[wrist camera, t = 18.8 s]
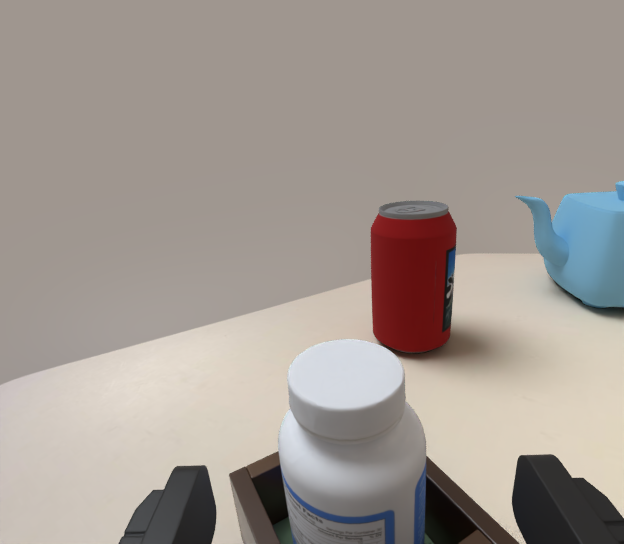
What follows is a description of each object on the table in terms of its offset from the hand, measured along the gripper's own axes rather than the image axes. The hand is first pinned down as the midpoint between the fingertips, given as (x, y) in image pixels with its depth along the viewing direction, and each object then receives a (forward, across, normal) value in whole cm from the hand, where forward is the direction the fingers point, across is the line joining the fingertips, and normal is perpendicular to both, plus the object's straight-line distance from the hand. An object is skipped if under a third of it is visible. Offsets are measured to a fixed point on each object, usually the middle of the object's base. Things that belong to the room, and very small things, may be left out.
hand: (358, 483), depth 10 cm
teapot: (+30, -27, +10) cm, 42 cm away
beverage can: (+23, -6, +10) cm, 26 cm away
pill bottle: (+4, 0, +9) cm, 10 cm away
